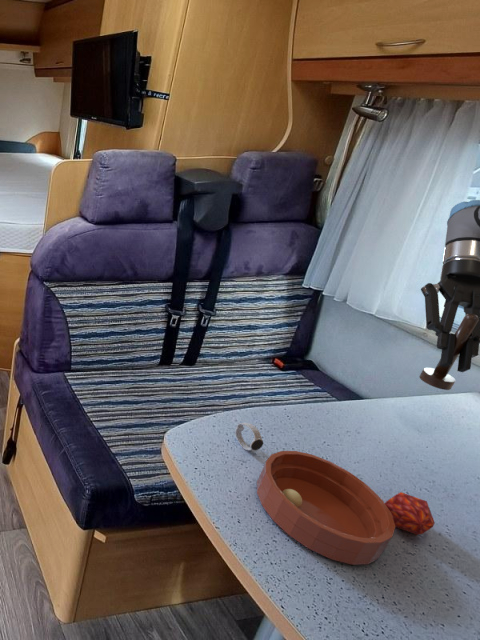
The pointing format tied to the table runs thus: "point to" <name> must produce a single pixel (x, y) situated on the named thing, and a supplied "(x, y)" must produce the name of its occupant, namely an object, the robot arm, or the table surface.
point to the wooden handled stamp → (440, 374)
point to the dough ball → (293, 497)
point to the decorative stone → (410, 513)
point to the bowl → (325, 507)
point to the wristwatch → (256, 441)
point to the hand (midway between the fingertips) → (454, 367)
